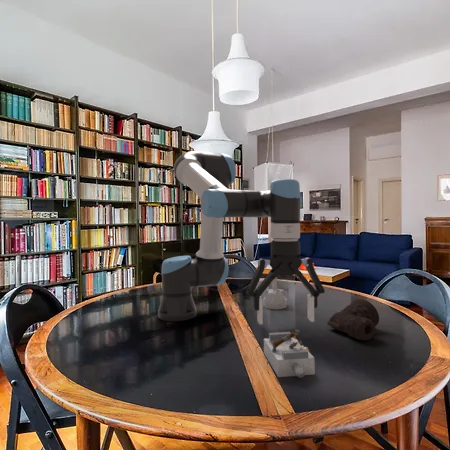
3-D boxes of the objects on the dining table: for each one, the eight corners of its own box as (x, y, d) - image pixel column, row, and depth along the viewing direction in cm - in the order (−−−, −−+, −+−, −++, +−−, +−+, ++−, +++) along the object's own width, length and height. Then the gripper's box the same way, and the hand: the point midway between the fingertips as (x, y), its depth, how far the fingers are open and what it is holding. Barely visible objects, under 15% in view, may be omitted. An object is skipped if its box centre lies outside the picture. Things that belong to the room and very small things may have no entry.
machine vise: (281, 383, 71) (281, 359, 71) (263, 352, 88) (263, 333, 88) (324, 380, 72) (323, 356, 72) (298, 350, 89) (298, 331, 89)
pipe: (356, 319, 93) (388, 303, 100) (319, 310, 106) (349, 296, 113) (363, 350, 93) (393, 332, 100) (325, 338, 106) (354, 322, 113)
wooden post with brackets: (306, 344, 80) (299, 328, 80) (279, 359, 79) (272, 343, 79) (304, 341, 82) (297, 326, 82) (277, 356, 81) (270, 340, 81)
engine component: (262, 308, 133) (286, 309, 131) (261, 260, 133) (285, 260, 131) (264, 302, 143) (286, 303, 141) (263, 257, 143) (286, 257, 141)
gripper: (239, 241, 76) (240, 328, 76) (338, 240, 79) (338, 323, 79) (235, 239, 83) (236, 318, 84) (325, 238, 86) (325, 314, 87)
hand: (285, 321), depth 81 cm, fingers open, 13 cm apart
